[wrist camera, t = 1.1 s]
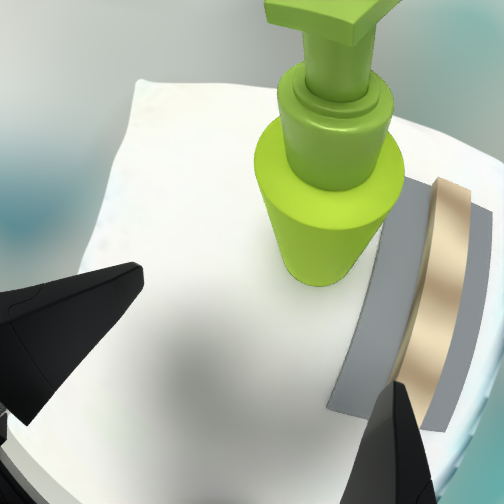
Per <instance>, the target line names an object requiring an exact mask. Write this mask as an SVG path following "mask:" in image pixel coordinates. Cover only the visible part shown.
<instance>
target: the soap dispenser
mask: <svg viewBox="0 0 504 504" xmlns="http://www.w3.org/2000/svg"><path fill="white" fill-rule="evenodd" d="M400 1H402V0H265V1H264V8H265V13H266V18H267V22H268V23H270V24H274V25H279V26H283V27H287V28H291V29H295V30H299V31H302V36H303V47H304V59H305V61H304V62H301V63H299V64H297V65H295V66H293V67H292V68H290V69H289V70H288V71H287V72H286V73H285V74H284V75H283V76H282V78H281V79H280V81H279V84H278V88H277V100H278V106H279V112H280V116H279V117H277V118H276V119H275V120H274V121H272V122H271V123H270V124H269V125H268V127H267V128H266V129H265V130H264V132H263V133H262V135H261V137H260V138H259V141H258V143H257V146H256V149H255V154H254V170H255V175H256V179H257V182H258V185H259V188H260V191H261V194H262V197H263V200H264V203H265V206H266V209H267V212H268V215H269V218H270V221H271V224H272V227H273V230H274V233H275V236H276V239H277V242H278V245H279V249H280V252H281V255H282V258H283V261H284V264H285V266H286V268H287V269H288V271H289V272H290V274H291V275H292V276H293V277H294V278H296V279H297V280H298V281H300V282H302V283H304V284H307V285H310V286H317V287H320V286H328V285H331V284H334V283H336V282H337V281H339V280H341V279H342V278H343V277H344V276H345V275H346V274H347V273H348V271H349V270H350V269H351V267H352V266H353V265H354V263H355V262H356V260H357V259H358V258H359V256H360V255H361V253H362V252H363V251H364V249H365V248H366V246H367V245H368V243H369V242H370V240H371V239H372V238H373V236H374V235H375V233H376V232H377V230H378V229H379V227H380V226H381V224H382V223H383V221H384V220H385V218H386V217H387V215H388V213H389V212H390V210H391V209H392V207H393V206H394V204H395V203H396V201H397V199H398V197H399V195H400V193H401V190H402V187H403V183H404V174H405V171H404V162H403V158H402V154H401V151H400V149H399V147H398V145H397V143H396V141H395V140H394V138H393V137H392V135H391V134H390V133H389V132H388V127H389V124H390V121H391V118H392V114H393V110H394V100H393V95H392V93H391V91H390V89H389V87H388V86H387V84H386V83H385V81H384V80H383V79H382V78H381V77H380V76H379V75H378V74H376V73H375V72H374V71H372V70H371V62H372V55H373V47H374V40H375V31H376V24H377V23H378V21H380V20H381V19H382V18H383V17H384V16H385V15H386V14H387V13H388V12H389V11H390V10H391V9H392V8H393V7H395V6H396V5H397V4H398V3H399V2H400Z"/></svg>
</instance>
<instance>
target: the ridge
mask: <svg viewBox="0 0 504 504" xmlns="http://www.w3.org/2000/svg"><path fill="white" fill-rule="evenodd" d="M470 211H471V190H468V189H466V188H464V187H461V186H459V185H457V184H454V183H452V182H450V181H447V180H445V179H442V178H440V177H438V178H437V179H436V180H435V182H434V183H433V184H432V186H431V195H430V206H429V215H428V223H427V230H426V237H425V244H424V250H423V256H422V261H421V267H420V272H419V277H418V281H417V286H416V290H415V295H414V299H413V303H412V307H411V311H410V315H409V318H408V322H407V326H406V329H405V333H404V336H403V339H402V342H401V346H400V349H399V352H398V355H397V358H396V361H395V364H394V367H393V370H392V372H391V375H390V378H389V380H388V383H387V385H388V384H389V383H390V382H391V381H393V380H396V381H399V382H402V383H403V384H404V385H405V387H406V390H407V393H408V396H409V399H410V402H411V405H412V408H413V411H414V415H415V418H416V421H417V425H418V428H420V426H421V424H422V422H423V419H424V417H425V415H426V412H427V410H428V408H429V405H430V403H431V400H432V398H433V395H434V392H435V390H436V387H437V384H438V381H439V378H440V375H441V372H442V369H443V366H444V363H445V360H446V357H447V353H448V350H449V346H450V343H451V339H452V335H453V331H454V327H455V323H456V319H457V314H458V310H459V305H460V300H461V294H462V289H463V283H464V276H465V269H466V262H467V253H468V243H469V230H470Z"/></svg>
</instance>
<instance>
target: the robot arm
mask: <svg viewBox="0 0 504 504" xmlns="http://www.w3.org/2000/svg"><path fill="white" fill-rule="evenodd" d="M143 287H144V274H143V268H142V266H141V265H139V264H137V263H135V262H128V263H124V264H120V265H116V266H112V267H108V268H103V269H99V270H95V271H91V272H87V273H83V274H79V275H75V276H71V277H67V278H63V279H59V280H55V281H51V282H48V283H45V284H44V283H43V284H39V285H35V286H31V287H27V288H22V289H17V290H12V291H6V292H0V504H49V503H48V502H47V501H46V500H45V499H44V498H43V497H42V496H41V495H40V494H39V493H38V492H37V491H36V490H35V488H34V487H33V486H32V485H31V484H30V483H29V482H28V481H27V479H26V478H25V477H24V476H23V475H22V473H21V472H20V471H19V470H18V469H17V467H16V466H15V465H14V464H13V462H12V461H11V460H10V458H9V457H8V456H7V454H6V453H5V452H4V451H3V449H2V448H1V445H2V444H3V443H4V442H5V441H6V440H7V413H6V411H7V410H9V411H10V412H11V413H12V414H13V415H14V416H15V417H16V418H18V419H19V420H20V421H21V422H22V423H23V424H24V425H26V426H28V425H29V424H30V423H31V422H32V420H33V419H34V418H35V417H36V415H37V414H38V413H39V412H40V410H41V409H42V408H43V407H44V405H45V404H46V403H47V402H48V401H49V399H50V398H51V397H52V396H53V394H54V393H55V392H56V391H57V390H58V388H59V387H60V386H61V385H62V384H63V382H64V381H65V380H66V379H67V378H68V377H69V375H70V374H71V373H72V372H73V371H74V370H75V368H76V367H77V366H78V365H79V364H80V363H81V362H82V360H83V359H84V358H85V357H86V356H87V355H88V354H89V352H90V351H91V350H92V349H93V348H94V347H95V346H96V345H97V344H98V342H99V341H100V340H101V339H102V338H103V337H104V336H105V335H106V334H107V332H108V331H109V330H110V329H111V328H112V327H113V326H114V325H115V324H116V323H117V322H118V320H119V319H120V318H121V317H122V315H123V314H124V313H125V312H126V310H127V309H128V308H129V306H130V305H131V304H132V302H133V301H134V300H135V298H136V297H137V296H138V294H139V293H140V292H141V291H142V289H143ZM340 504H437V501H436V496H435V492H434V487H433V483H432V480H431V474H430V470H429V466H428V461H427V457H426V453H425V450H424V446H423V442H422V438H421V435H420V431H419V428H418V425H417V421H416V418H415V415H414V411H413V408H412V405H411V402H410V399H409V396H408V393H407V390H406V387H405V385H404V384H403V383H402V382H399V381H396V380H393V381H391V382H390V383H389V384H388V385H387V386H386V387H385V388H384V389H383V390H382V391H381V392H380V393H379V395H378V397H377V399H376V402H375V405H374V408H373V410H372V413H371V416H370V419H369V421H368V424H367V426H366V429H365V431H364V434H363V437H362V439H361V443H360V446H359V449H358V452H357V456H356V459H355V462H354V465H353V468H352V471H351V474H350V477H349V480H348V483H347V486H346V488H345V491H344V494H343V496H342V499H341V501H340Z"/></svg>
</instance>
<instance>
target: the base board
mask: <svg viewBox="0 0 504 504" xmlns="http://www.w3.org/2000/svg"><path fill="white" fill-rule="evenodd" d="M430 195H431V186H430V185H427V184H425V183H422V182H419V181H416V180H414V179H411V178H408V177H405V176H404V183H403V187H402V190H401V193H400V195H399V197H398V199H397V201H396V203H395V204H394V206H393V207H392V209H391V210H390V212H389V213H388V215H387V217H386V218H385V220H384V223H383V228H382V233H381V237H380V242H379V246H378V251H377V255H376V259H375V263H374V267H373V271H372V275H371V279H370V283H369V286H368V290H367V293H366V297H365V300H364V304H363V307H362V311H361V314H360V317H359V320H358V323H357V327H356V330H355V333H354V336H353V339H352V342H351V345H350V347H349V350H348V353H347V356H346V359H345V362H344V364H343V367H342V370H341V372H340V375H339V377H338V380H337V383H336V385H335V388H334V390H333V393H332V395H331V397H330V400H329V402H328V404H327V409H329V410H332V411H336V412H340V413H344V414H347V415H351V416H356V417H360V418H364V419H368V420H369V419H370V416H371V413H372V410H373V408H374V405H375V402H376V399H377V397H378V395H379V393H380V392H381V391H382V390H383V389H384V388H385V387H386V386H387V383H388V380H389V378H390V375H391V372H392V370H393V367H394V364H395V361H396V358H397V355H398V352H399V349H400V346H401V342H402V339H403V336H404V333H405V329H406V326H407V322H408V318H409V315H410V311H411V307H412V303H413V299H414V295H415V290H416V286H417V281H418V277H419V272H420V267H421V261H422V256H423V250H424V244H425V237H426V230H427V223H428V215H429V206H430ZM491 244H492V212H491V211H489V210H487V209H485V208H483V207H480V206H478V205H476V204H474V203H471V211H470V230H469V243H468V253H467V262H466V269H465V276H464V283H463V289H462V294H461V300H460V305H459V310H458V314H457V319H456V323H455V327H454V331H453V335H452V339H451V343H450V346H449V350H448V353H447V357H446V360H445V363H444V366H443V369H442V372H441V375H440V378H439V381H438V384H437V387H436V390H435V392H434V395H433V398H432V400H431V403H430V405H429V408H428V410H427V412H426V415H425V417H424V419H423V422H422V424H421V426H420V428H419V429H422V430H429V431H436V432H445V431H446V429H447V427H448V424H449V422H450V420H451V417H452V415H453V412H454V410H455V407H456V405H457V402H458V400H459V397H460V394H461V392H462V389H463V386H464V383H465V380H466V377H467V374H468V371H469V367H470V364H471V361H472V357H473V354H474V350H475V346H476V342H477V338H478V334H479V330H480V325H481V320H482V315H483V310H484V304H485V298H486V292H487V285H488V277H489V269H490V258H491Z"/></svg>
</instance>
